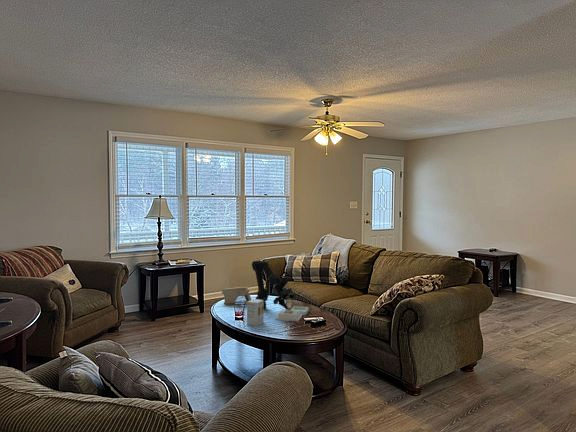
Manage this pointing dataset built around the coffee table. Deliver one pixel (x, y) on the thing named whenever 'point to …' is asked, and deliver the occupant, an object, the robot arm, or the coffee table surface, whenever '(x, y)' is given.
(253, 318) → the supplement box
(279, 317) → the grey block with recess
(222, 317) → the coffee table surface
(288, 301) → the cream rounded cylinder
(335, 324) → the coffee table surface
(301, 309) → the parts tray
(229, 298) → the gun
